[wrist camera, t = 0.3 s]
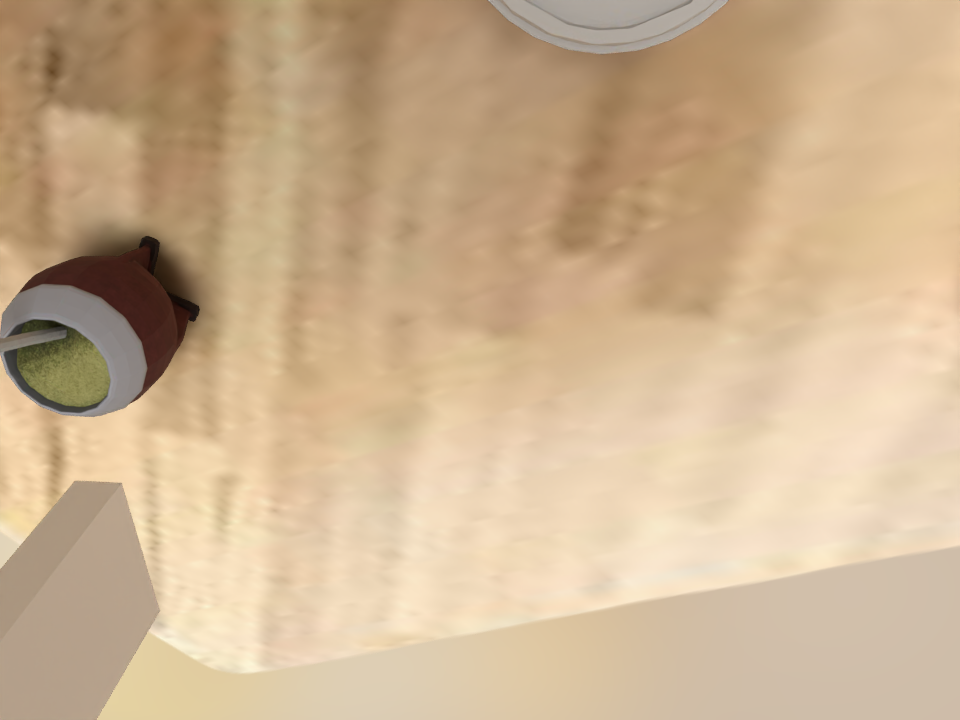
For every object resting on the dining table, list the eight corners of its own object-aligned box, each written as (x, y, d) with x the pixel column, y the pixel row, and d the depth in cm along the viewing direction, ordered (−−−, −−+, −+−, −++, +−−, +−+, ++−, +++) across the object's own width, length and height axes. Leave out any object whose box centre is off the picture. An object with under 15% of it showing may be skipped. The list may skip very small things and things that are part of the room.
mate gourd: (192, 367, 46) (34, 563, 33) (50, 310, 45) (-168, 488, 32) (223, 251, 42) (60, 420, 29) (70, 187, 41) (-168, 331, 28)
